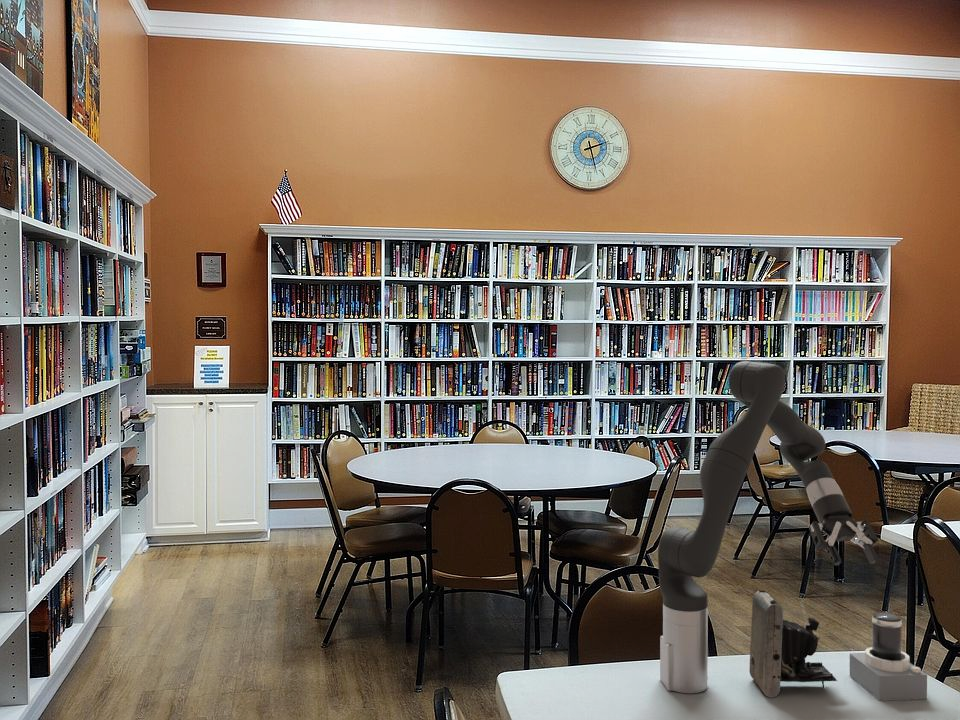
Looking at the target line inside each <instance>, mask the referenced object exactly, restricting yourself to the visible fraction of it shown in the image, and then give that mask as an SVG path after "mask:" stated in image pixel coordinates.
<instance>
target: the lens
mask: <svg viewBox="0 0 960 720" xmlns="http://www.w3.org/2000/svg"><path fill="white" fill-rule="evenodd" d="M871 618H872V619H871V623H872V626H871V628H872V629H871V631H872V632H871V633H872V634H871V636H872V637H871V638H872V639H871V641H872V643H871V647H872V655H873V656H874V657H877V658H880V659H884V660H890V661H900V660H901V651H902V626H903V619H902V617H901V616H900V615H898V614H896V613H892V612H884V611H883V612H882V611H879V612H874V613H872V615H871Z"/></svg>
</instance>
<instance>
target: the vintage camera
mask: <svg viewBox="0 0 960 720" xmlns="http://www.w3.org/2000/svg"><path fill="white" fill-rule="evenodd" d="M751 610H752V611H751V626H750V629H751V630H750V632H751V633H750V648H749V651H750V652H749V675H750V677H751V678H752V680H753V681H754V682H755V683H756V685H757V686H758V687H759V689H760V690H761V691H762V693H763V694H764V695H765V696H767V697H768V698H774V697H775V698H776V697H777V696H778V695H779V693H780V692H781V691H780V690H781V682H783V683H785V682H787V683H792V682H793V683H815V682H816V683H819V682H821V685H822V689H825V684H824V682H838V680H837V678H836V677H835V676H834V674H833V673H831V672H830V671H829V670H828V669H827V668H826V667H825V666H824V665H823V662H821V661H820V662H818V661H817V662H810V661H807V662H806V658H807V656H809V657H812V656H813V655H814V654H815V653H816V651H817V650H818V649H817V648H818V644H819V640H821V637H818V636H817V635H816V634H814V632H813V631H815V632H817V630H818V628H819V624H820V622H819V621H817V620H816V619H815V618H813V617H808V619H807V620H808V624H806V625H805V627H804V625H803V626H802V625H799V623H797V622H793V621H789V620H786V619H784V610H783V607H782V605H781V604H780V603H779V602H777V601H776V600H775V599H774V598H773V597H772V596H771V595H770V594H769V592H768V591H767V590H764V589H759V590H757V591H756V592H755V593H754V594H753V596H752V608H751Z"/></svg>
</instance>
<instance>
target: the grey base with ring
mask: <svg viewBox="0 0 960 720" xmlns="http://www.w3.org/2000/svg"><path fill="white" fill-rule="evenodd" d="M849 677H850V678H851V679H853V681H855V682H856V683H857V684H859V685H860V686H861V687H862V688H863V689H864V690H865V691H867V692H868V693H869V694H871V695H872V696H873V697H874V698H876V699H877V700H878V701H907V700H908V701H909V700H911V699H912V700H928V674H927V673H925V672H924V671H923V670H922V669H921V668H920V667H919V666H916V665H914V664H913V663H911V661H910V655H909V654H907V653H906V652H904V650H903V651H902V650H901V660H900V661H890V660H884V659H880V658H877V657H874V656H873V655H872V646H871V647H868V648H866V649H865V652H854V653H853V652H852V653H851V652H850V653H849Z"/></svg>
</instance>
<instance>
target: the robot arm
mask: <svg viewBox="0 0 960 720" xmlns="http://www.w3.org/2000/svg"><path fill="white" fill-rule="evenodd" d="M785 385H786V373H785V370H784V368H782V367H781V365H778V364H773V363H766V362H760V361H748V360H747V361H739V362H737V363H735V364H734V365H733V366H732V367H731V370H730V372H729V376H728V388H729V390H730V393H731V394H732V396H733V397H734V398H735V399H736V400H737V401H738V402H740V403H742V404H743V405H744V406H746V407H747V410H746V411H745V413H744V414H743V415H742V416H741V417H740V418H739V419H738V420H737V421H735V422H734V423H733V424H732V425H730V426H729V427H728V428H726V429H725V430H724V431H722V433H720V434H719V435H718V436H717V437H715V439H714V440H713V441H712V442H711V443H710V445H709V448H708V449H707V452H706V454H705V457H704V459H703V462H702V464H701V467H700V470H699V479H700V480H699V481H700V487H701V492H702V499H703V510H702V513H701V517H700V519H699V522H698V524H697V526H696V529H695V530H692V529H688V528H684V527H679V526H671V527H669V528H667V529H666V530H665V531H664V532H663V533H662V535H661V537H660V539H659V542H658V543H659V544H658V546H657V547H658V548H657V561H658V562H657V563H658V567H657V568H658V579H659V580H658V585H659V590H660V594H661V596H662V620H663V621H662V635H660V637H659V641H660V643H659V644H660V645H659V648H660V649H659V652H660V653H659V656H660V657H659V658H660V659H659V675H660V677H659V679H660V681H661V683H662V684H663V686H664V687H665V689H666V690H667V691H669V692H670V691H672V692H677V693H682V694H697V693H701V692H704V691H706V690H707V689H708V680H709V679H708V678H709V676H708V663H709V662H708V659H709V658H708V645H709V644H708V643H709V642H708V639H709V638H708V633H709V632H708V631H709V629H708V627H709V626H708V622H709V621H708V619H709V617H708V616H709V615H708V614H709V613H708V610H709V609H708V606H709V605H708V604H709V601H708V599H709V598H708V594H707V592H706V591H705V590H704V588H702V586H700V585H699V584H698V583H697V582H696V580H694V578H697V579H698V578H704V577H705V576H707V575H708V574H709V573H710V572H711V571H712V569H713V568H714V565H715V563H716V562H717V558H718V556H719V551H720V548H721V546H722V542H723V538H724V534H725V531H726V528H727V524H728V521H729V518H730V515H731V512H732V509H733V507H734V504H735V502H736V499H737V496H738V494H739V491H740V490H741V487H742V485H743V483H744V479H745V478H746V475H747V473H748V470H749V468H750V466H751V462H752V460H753V457H754V454H755V452H756V449H757V446H758V445H759V442H760V440H761V437H762V435H763V433H764V431H765V429H766V427H768V428H769V429H771V431H772V433H773V434H775V436H776V438H777V439H778V440H779V441H780V443H779V450H780V454H781V455H782V457H783V458H784V459H785V460H786V462H787V463H789V465H790V466H791V467H792V468H793V469H794V471H795V472H796V473H797V474H798V476H799V478H800V480H801V482H802V484H803V486H804V488H805V491H806V493H807V496H808V498H807V499H808V500H809V502H810V505H811V507H812V509H813V512H814V514H815V516H816V519H817V521H816V520H813V521H812V523H811V524H810V525H809V528H808V530H809V532H810V535H811V538H812V541H813V543H814V546H815V548H816V549H817V550H821V549H822V550H824V551H826V553H827V556H828V558H829V560H830V562H831V563H832V564H833V565H834V566H840V564H841V563H842V558H841V556H840V554H839V552H838V549H837V547H836V546H834V545H835V542H844V541H845V542H850V541H851V542H852V543H853V544H855V545H858V546H859V547H861V548H862V549H863V552H864V555H865V557H866V558H867V561H868V562H869V564H870V565H872V564H873V565H874V564H875V563H876V562H877V561H878V554H877V552H876V550H875V548H874V546H875V545H876V544H877V543H878V542H879V538H878V536H877V534H876V532H875V531H874V529H873V527H872V526H871V523H870V521H869V520H868V519H865V518H863V520H862V521H856V520H855V519H854V518H853V514H852V510H851V508H850V506H849V504H848V502H847V500H846V498H845V496H844V493H843V491H842V490H841V488H840V485H838V483H837V482H836V480H835V477H834V476H833V473H832V472H831V469H830V467H829V466H828V464H827V463H826V461H823V460H818V459H815V460H810V459H813V458H814V457H817V456H820V455H821V454H823V453H824V451H825V450H826V446H827V445H826V440H825V438H824V437H823V435H822V433H821V432H819V430H817V429H816V428H814V427H813V426H812V425H809V424H808V423H806V422H804V421H803V420H802V418H800V416H799V415H798V413H797V412H796V411H795V410H794V409H793V408H792V407H791V406H789V405H788V404H786V403H785V402H784V401H782V400H781V397H782V395H783V392H784V389H785ZM822 531H823V532H824V533H825V534H826V535H827V537H826V540H825V538H824V536H823V533H822ZM856 536H857V537H856ZM693 577H694V578H693Z"/></svg>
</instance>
